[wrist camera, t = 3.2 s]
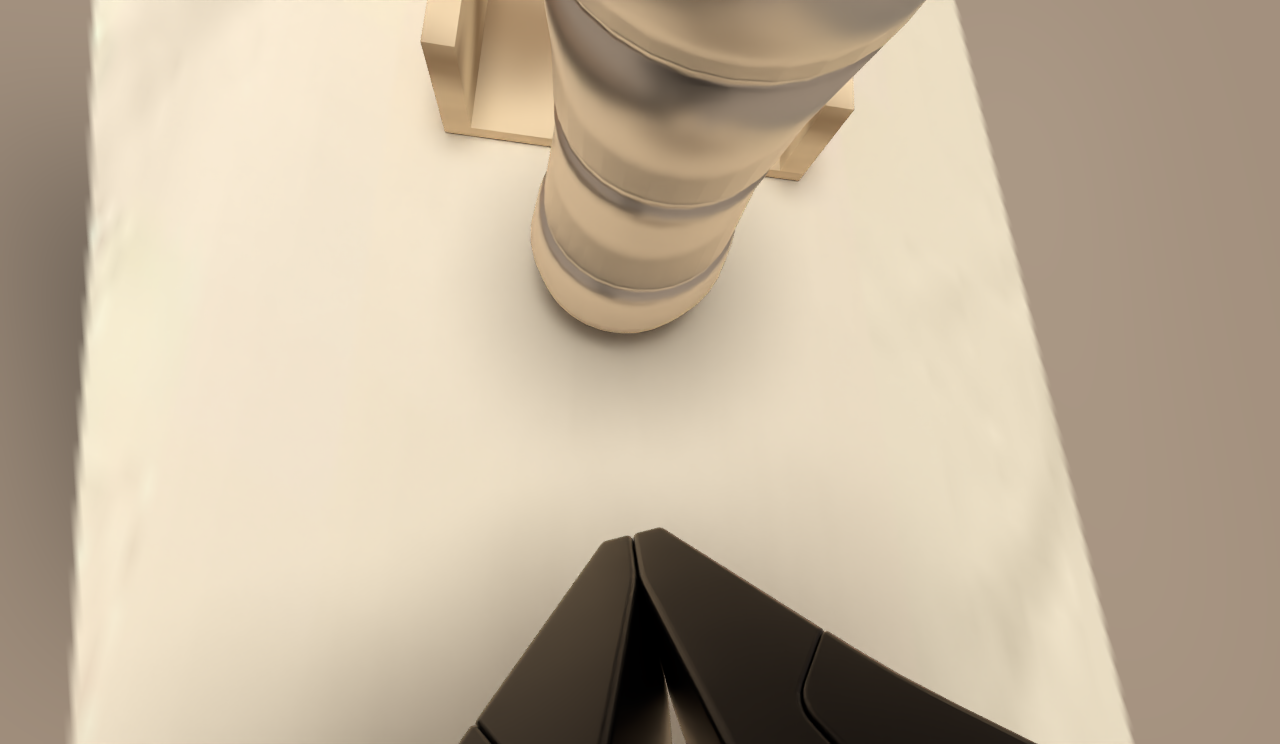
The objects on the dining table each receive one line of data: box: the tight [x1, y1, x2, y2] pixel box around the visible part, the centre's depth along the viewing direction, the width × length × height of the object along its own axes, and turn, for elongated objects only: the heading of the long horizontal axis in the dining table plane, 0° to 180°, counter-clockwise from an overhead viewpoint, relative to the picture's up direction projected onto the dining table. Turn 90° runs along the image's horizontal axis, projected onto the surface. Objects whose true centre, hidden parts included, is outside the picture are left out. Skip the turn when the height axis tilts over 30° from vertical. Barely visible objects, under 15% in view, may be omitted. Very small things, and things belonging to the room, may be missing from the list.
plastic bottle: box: [531, 0, 926, 333], centre depth 13 cm, size 6×7×20 cm
